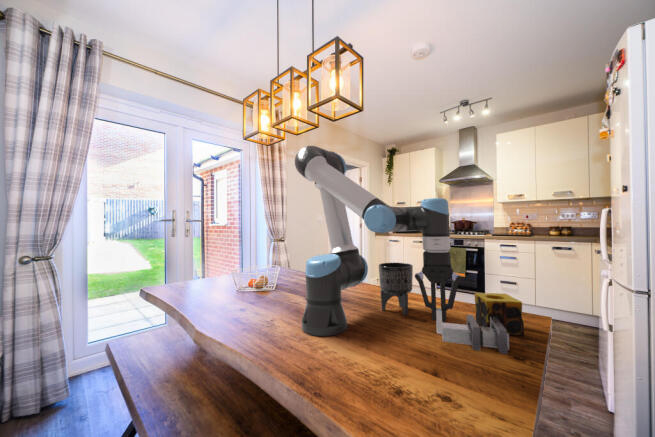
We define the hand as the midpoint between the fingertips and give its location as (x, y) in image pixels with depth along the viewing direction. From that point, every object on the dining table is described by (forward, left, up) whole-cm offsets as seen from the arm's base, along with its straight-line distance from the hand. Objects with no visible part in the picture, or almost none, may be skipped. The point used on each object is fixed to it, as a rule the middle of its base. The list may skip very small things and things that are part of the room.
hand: (439, 332), depth 76 cm
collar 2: (+15, 0, -2) cm, 15 cm away
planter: (-14, +22, -2) cm, 26 cm away
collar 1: (+9, 0, -2) cm, 9 cm away
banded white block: (+9, 0, -2) cm, 9 cm away
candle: (+18, +13, -2) cm, 22 cm away
